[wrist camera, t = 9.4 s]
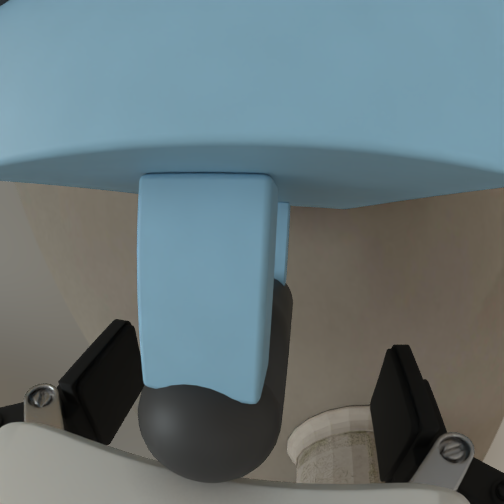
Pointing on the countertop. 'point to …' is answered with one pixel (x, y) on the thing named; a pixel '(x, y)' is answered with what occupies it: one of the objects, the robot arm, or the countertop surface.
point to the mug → (336, 448)
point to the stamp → (242, 165)
